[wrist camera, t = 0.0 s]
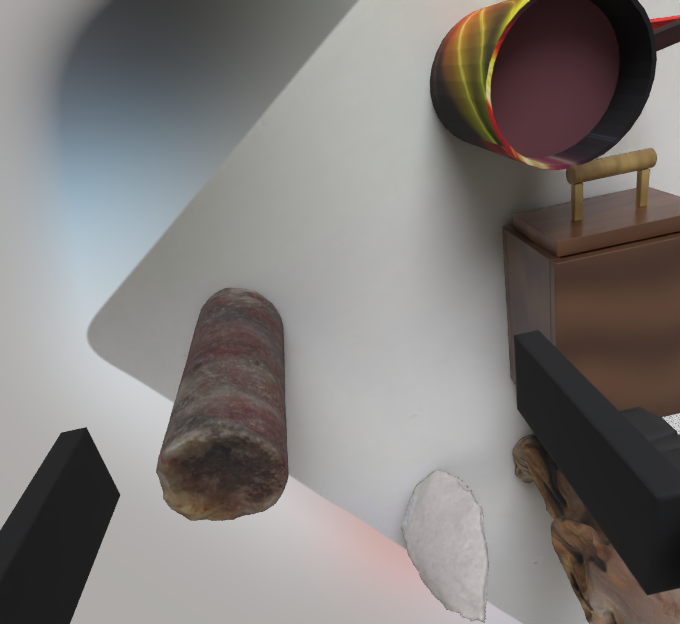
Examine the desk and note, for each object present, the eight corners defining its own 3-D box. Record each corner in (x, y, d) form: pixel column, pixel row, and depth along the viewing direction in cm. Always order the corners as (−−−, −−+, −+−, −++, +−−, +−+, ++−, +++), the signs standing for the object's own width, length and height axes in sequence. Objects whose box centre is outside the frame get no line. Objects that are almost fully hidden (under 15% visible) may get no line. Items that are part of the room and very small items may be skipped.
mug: (623, 33, 39) (754, 17, 28) (483, 170, 42) (552, 204, 31) (549, -79, 35) (665, -147, 25) (403, 80, 39) (450, 82, 28)
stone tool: (442, 447, 54) (495, 573, 40) (465, 459, 55) (524, 586, 41) (390, 506, 57) (424, 643, 43) (413, 516, 58) (453, 653, 44)
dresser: (502, 226, 44) (554, 263, 36) (645, 196, 44) (732, 225, 36) (510, 378, 51) (556, 440, 42) (634, 351, 51) (706, 407, 42)
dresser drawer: (510, 163, 41) (556, 181, 34) (649, 133, 41) (724, 146, 34) (519, 361, 49) (558, 409, 42) (635, 336, 49) (694, 380, 42)
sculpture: (480, 439, 54) (679, 811, 27) (575, 389, 52) (888, 728, 25) (535, 527, 60) (741, 899, 33) (621, 484, 59) (912, 838, 31)
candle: (295, 295, 45) (302, 444, 27) (276, 366, 48) (271, 544, 30) (206, 276, 44) (151, 419, 26) (192, 350, 46) (133, 527, 28)
